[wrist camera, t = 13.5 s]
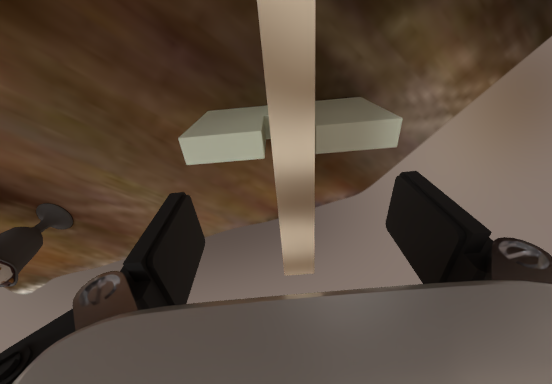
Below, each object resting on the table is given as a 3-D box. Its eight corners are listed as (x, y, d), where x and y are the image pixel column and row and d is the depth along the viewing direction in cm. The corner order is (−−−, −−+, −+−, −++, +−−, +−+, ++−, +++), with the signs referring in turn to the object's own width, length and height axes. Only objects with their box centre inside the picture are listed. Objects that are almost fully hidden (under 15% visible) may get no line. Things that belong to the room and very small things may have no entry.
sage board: (207, 110, 27) (178, 138, 18) (360, 96, 26) (402, 118, 18) (212, 130, 28) (186, 165, 20) (358, 117, 28) (396, 147, 19)
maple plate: (265, 22, 23) (254, -23, 9) (289, 19, 22) (315, -30, 9) (279, 180, 32) (284, 275, 18) (296, 179, 32) (314, 273, 18)
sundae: (85, 213, 35) (-25, 307, 22) (72, 238, 37) (-32, 336, 24) (36, 190, 32) (-118, 280, 20) (26, 218, 35) (-116, 314, 22)
